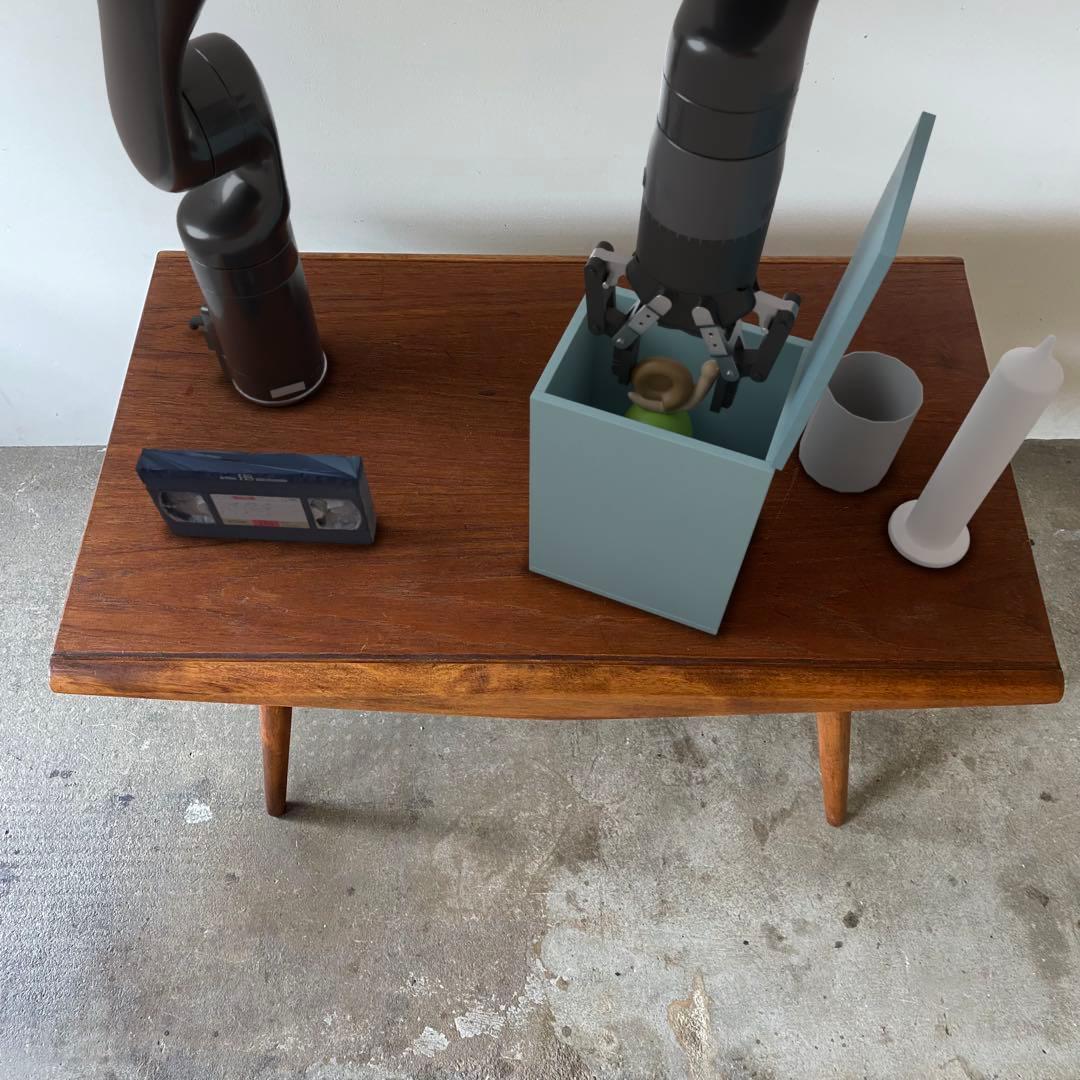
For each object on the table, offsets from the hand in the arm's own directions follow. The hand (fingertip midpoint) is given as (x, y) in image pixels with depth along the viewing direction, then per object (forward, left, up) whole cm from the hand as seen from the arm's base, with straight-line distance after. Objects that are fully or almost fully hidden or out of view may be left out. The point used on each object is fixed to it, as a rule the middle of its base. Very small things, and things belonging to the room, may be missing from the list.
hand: (671, 389), depth 69 cm
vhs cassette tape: (-31, -11, -21) cm, 39 cm away
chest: (0, 0, -21) cm, 21 cm away
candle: (+24, +11, -21) cm, 33 cm away
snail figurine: (0, 0, -8) cm, 8 cm away
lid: (+9, 0, +12) cm, 15 cm away
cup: (+15, +17, -21) cm, 30 cm away
